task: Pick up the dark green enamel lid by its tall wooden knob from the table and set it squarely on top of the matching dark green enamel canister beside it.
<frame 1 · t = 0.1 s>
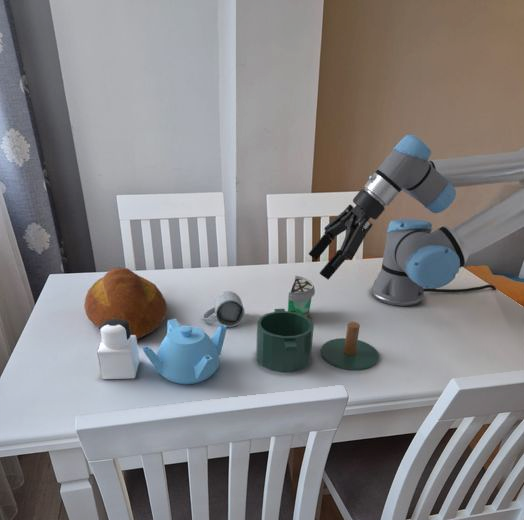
hand: (317, 266, 122), 15 cm above the table, tool tilted 35°, fingers open, 13 cm apart
canister lid: (349, 354, 114), point 1 cm above the table
ceramic mug: (224, 321, 128), on the table
bread: (127, 315, 129), on the table
food container: (300, 319, 130), on the table
canister: (283, 359, 112), on the table
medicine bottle: (121, 371, 106), on the table
teapot: (188, 370, 107), on the table
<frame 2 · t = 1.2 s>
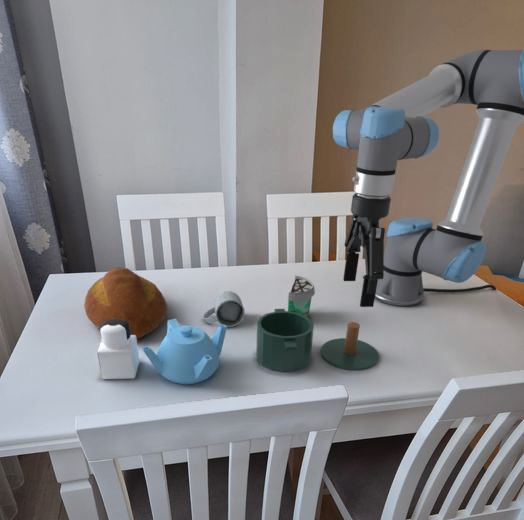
hand: (357, 292, 105), 17 cm above the table, tool pointing down, fingers open, 13 cm apart
nothing on the table moved.
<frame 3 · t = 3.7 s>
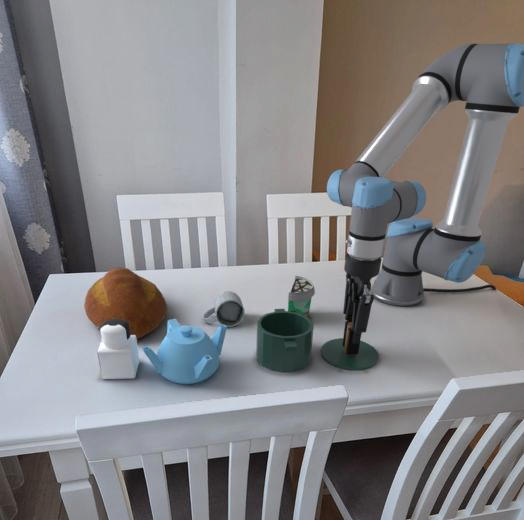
hand: (350, 349, 113), 2 cm above the table, tool pointing down, fingers closed on canister lid, 3 cm apart
canister lid: (349, 354, 114), point 1 cm above the table, touching gripper
everything else where it was.
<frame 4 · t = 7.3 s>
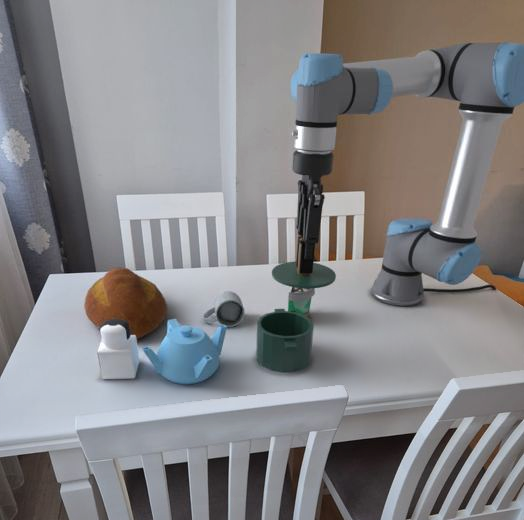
hand: (304, 269, 101), 23 cm above the table, tool pointing down, fingers closed on canister lid, 3 cm apart
canister lid: (303, 275, 101), point 21 cm above the table, touching gripper
everything else where it was.
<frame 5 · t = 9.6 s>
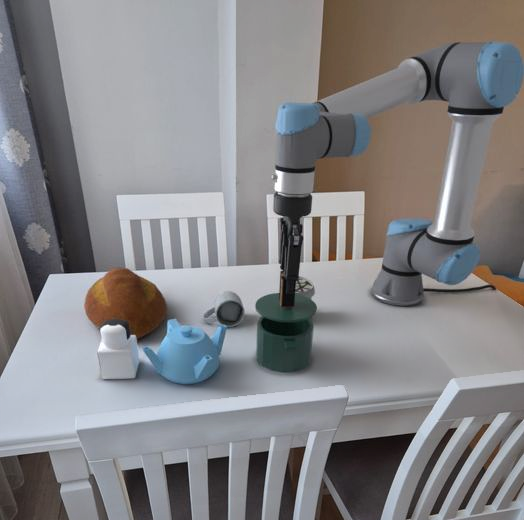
hand: (286, 302, 104), 15 cm above the table, tool pointing down, fingers closed on canister lid, 3 cm apart
canister lid: (286, 307, 105), point 13 cm above the table, touching gripper
everything else where it was.
when the fingers open (11 cm above the table, at t = 11.0 s): canister lid stays where it is, resting on canister.
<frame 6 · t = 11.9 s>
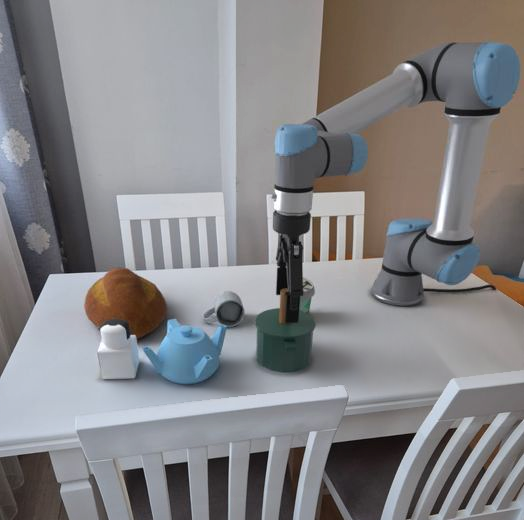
hand: (286, 307, 105), 14 cm above the table, tool pointing down, fingers open, 13 cm apart
canister lid: (285, 323, 107), point 9 cm above the table, touching canister
everything else where it was.
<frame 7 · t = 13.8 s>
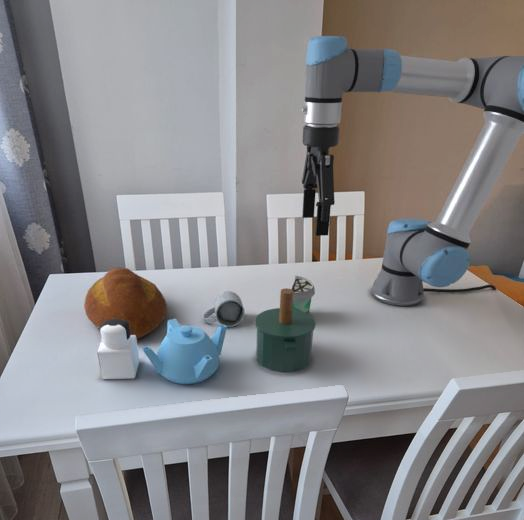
hand: (314, 225, 110), 28 cm above the table, tool pointing down, fingers open, 13 cm apart
nothing on the table moved.
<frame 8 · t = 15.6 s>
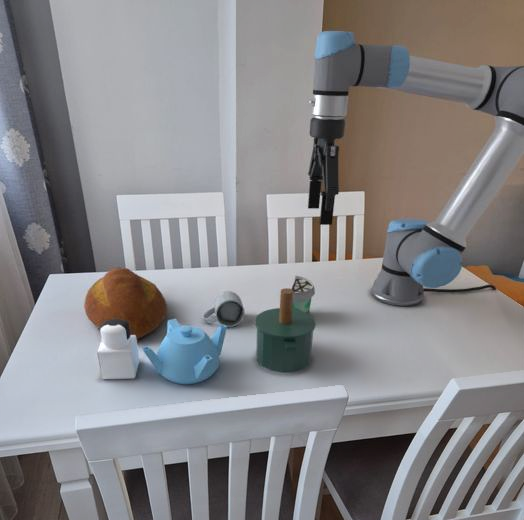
hand: (319, 216, 113), 29 cm above the table, tool pointing down, fingers open, 13 cm apart
nothing on the table moved.
at the end: canister lid 0.1 cm off-centre on the canister, point 9.5 cm above the canister's base; canister lid tilted 0°; the gripper is holding nothing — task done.
